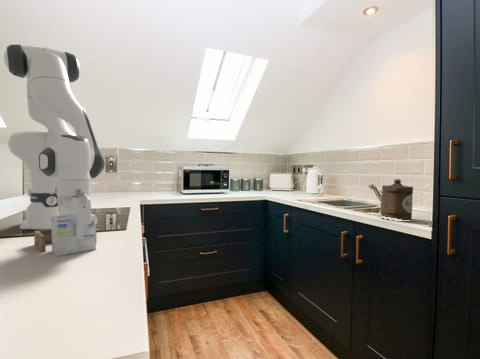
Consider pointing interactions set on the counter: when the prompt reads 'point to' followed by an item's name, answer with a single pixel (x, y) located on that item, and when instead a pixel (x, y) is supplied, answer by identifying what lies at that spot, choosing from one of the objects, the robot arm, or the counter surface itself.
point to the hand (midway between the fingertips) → (74, 235)
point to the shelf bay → (42, 239)
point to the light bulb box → (71, 236)
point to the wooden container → (397, 201)
